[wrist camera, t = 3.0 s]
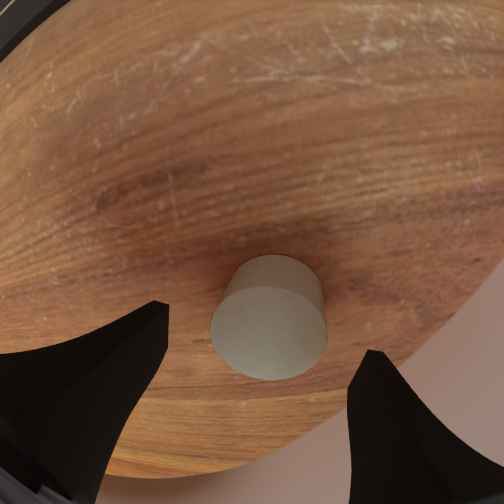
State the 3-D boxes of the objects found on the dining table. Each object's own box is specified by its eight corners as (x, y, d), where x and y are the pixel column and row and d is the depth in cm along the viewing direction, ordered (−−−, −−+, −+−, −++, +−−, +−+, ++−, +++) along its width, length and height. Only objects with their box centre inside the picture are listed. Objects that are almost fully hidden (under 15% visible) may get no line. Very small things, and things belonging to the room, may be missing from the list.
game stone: (335, 266, 13) (343, 302, 10) (308, 346, 14) (307, 389, 12) (234, 243, 13) (216, 273, 10) (221, 326, 15) (204, 366, 12)
